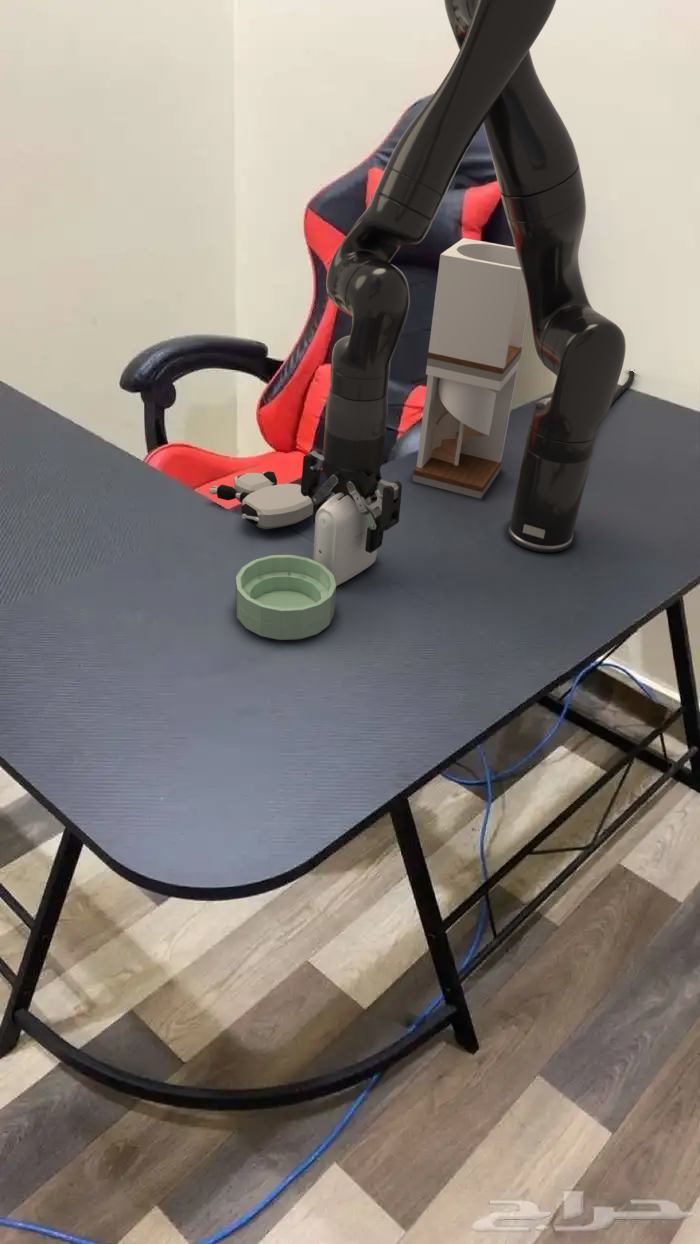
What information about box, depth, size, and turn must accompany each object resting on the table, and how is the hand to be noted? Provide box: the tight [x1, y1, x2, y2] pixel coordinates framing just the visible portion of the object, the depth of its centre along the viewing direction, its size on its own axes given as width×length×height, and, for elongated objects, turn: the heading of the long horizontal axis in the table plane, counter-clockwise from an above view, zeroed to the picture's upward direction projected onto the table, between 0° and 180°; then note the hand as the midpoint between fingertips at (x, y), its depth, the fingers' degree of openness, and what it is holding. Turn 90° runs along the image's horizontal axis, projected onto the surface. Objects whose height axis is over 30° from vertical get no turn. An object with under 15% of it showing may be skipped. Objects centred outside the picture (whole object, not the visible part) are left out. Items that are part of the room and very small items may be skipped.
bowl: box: [235, 554, 337, 641], centre depth 118 cm, size 12×12×5 cm
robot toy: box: [208, 470, 313, 530], centre depth 139 cm, size 12×4×15 cm
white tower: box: [412, 237, 530, 500], centre depth 143 cm, size 11×11×35 cm
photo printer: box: [312, 489, 381, 587], centre depth 125 cm, size 10×4×12 cm, turn 140°
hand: (346, 538), depth 126 cm, fingers open, 8 cm apart
